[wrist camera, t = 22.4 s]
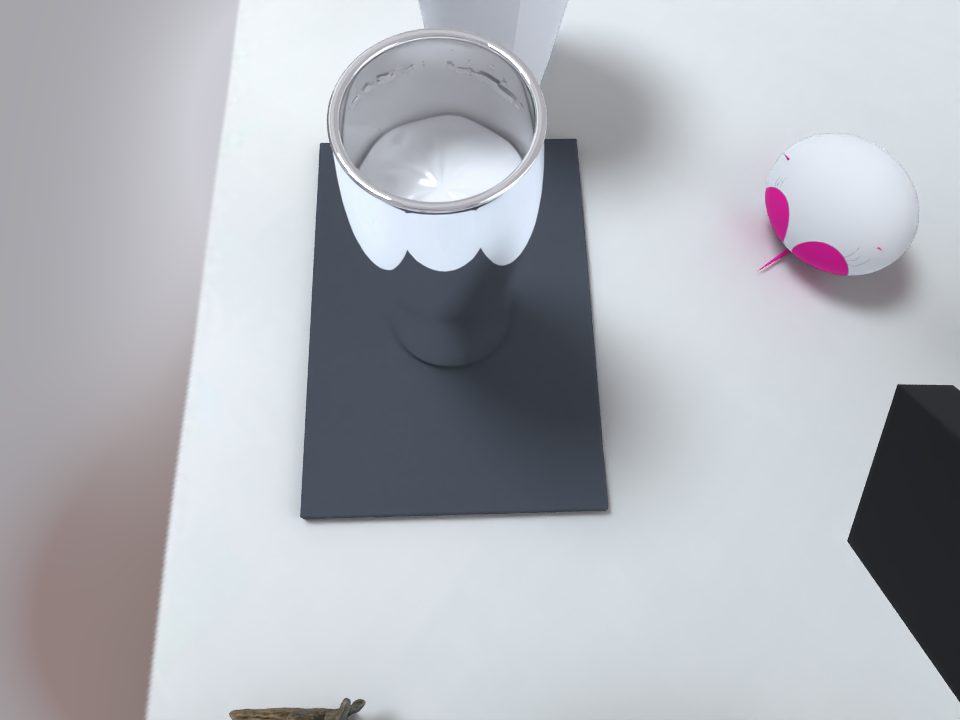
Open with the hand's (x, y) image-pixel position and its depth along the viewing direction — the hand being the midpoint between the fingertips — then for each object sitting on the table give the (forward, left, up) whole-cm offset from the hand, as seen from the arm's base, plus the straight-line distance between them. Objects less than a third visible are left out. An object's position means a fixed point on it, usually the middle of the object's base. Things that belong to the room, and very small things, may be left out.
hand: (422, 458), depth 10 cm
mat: (+10, +7, -23) cm, 26 cm away
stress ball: (+24, -6, -23) cm, 34 cm away
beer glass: (+10, +7, -23) cm, 25 cm away
